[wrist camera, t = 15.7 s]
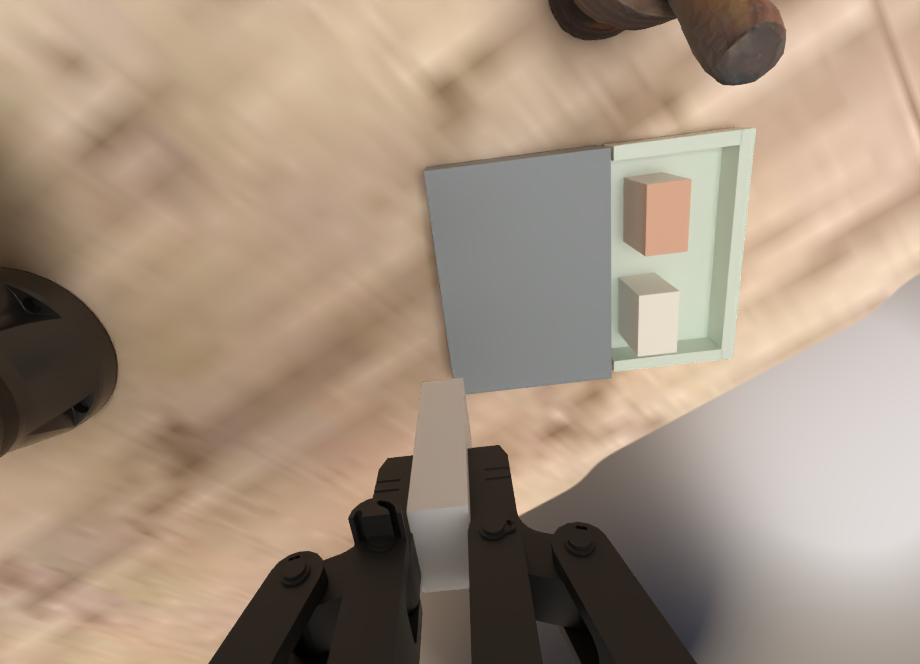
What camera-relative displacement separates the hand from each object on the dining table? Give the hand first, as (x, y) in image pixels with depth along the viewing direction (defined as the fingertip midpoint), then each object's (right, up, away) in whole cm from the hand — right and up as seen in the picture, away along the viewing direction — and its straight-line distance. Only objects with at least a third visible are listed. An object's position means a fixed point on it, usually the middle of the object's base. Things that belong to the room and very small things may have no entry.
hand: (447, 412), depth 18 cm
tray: (+17, +10, +23) cm, 30 cm away
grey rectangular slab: (+5, +8, +23) cm, 25 cm away
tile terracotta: (+13, +12, +19) cm, 26 cm away
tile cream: (+14, +4, +22) cm, 26 cm away
